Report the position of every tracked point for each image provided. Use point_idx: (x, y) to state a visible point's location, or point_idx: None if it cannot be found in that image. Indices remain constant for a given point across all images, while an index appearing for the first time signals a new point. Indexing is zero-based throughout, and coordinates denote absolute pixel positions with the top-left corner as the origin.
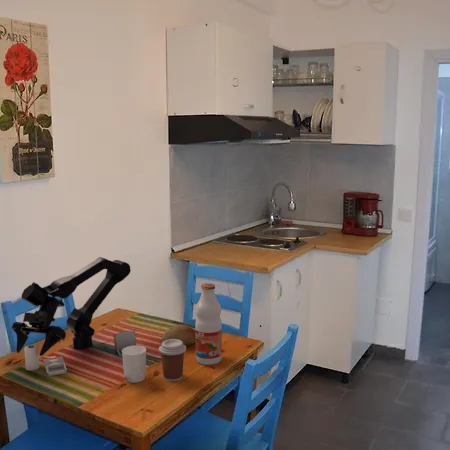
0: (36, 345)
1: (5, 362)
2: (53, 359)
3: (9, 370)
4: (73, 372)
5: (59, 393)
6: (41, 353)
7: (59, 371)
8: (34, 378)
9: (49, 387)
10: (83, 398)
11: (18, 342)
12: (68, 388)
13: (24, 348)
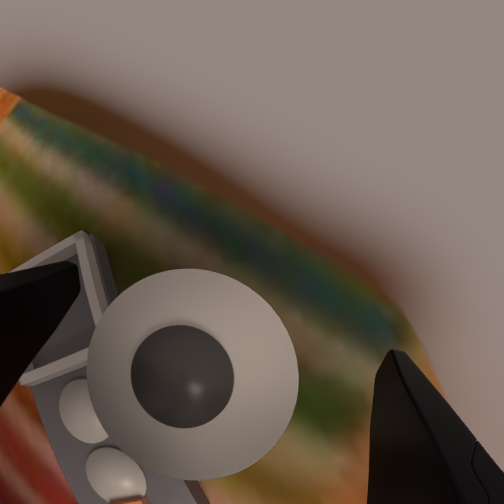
0: (121, 435)
1: None
2: (122, 494)
3: None
4: None
5: (55, 141)
6: (53, 265)
7: (29, 261)
8: None
9: (88, 177)
10: (3, 133)
11: (449, 432)
12: (26, 181)
13: (273, 310)
